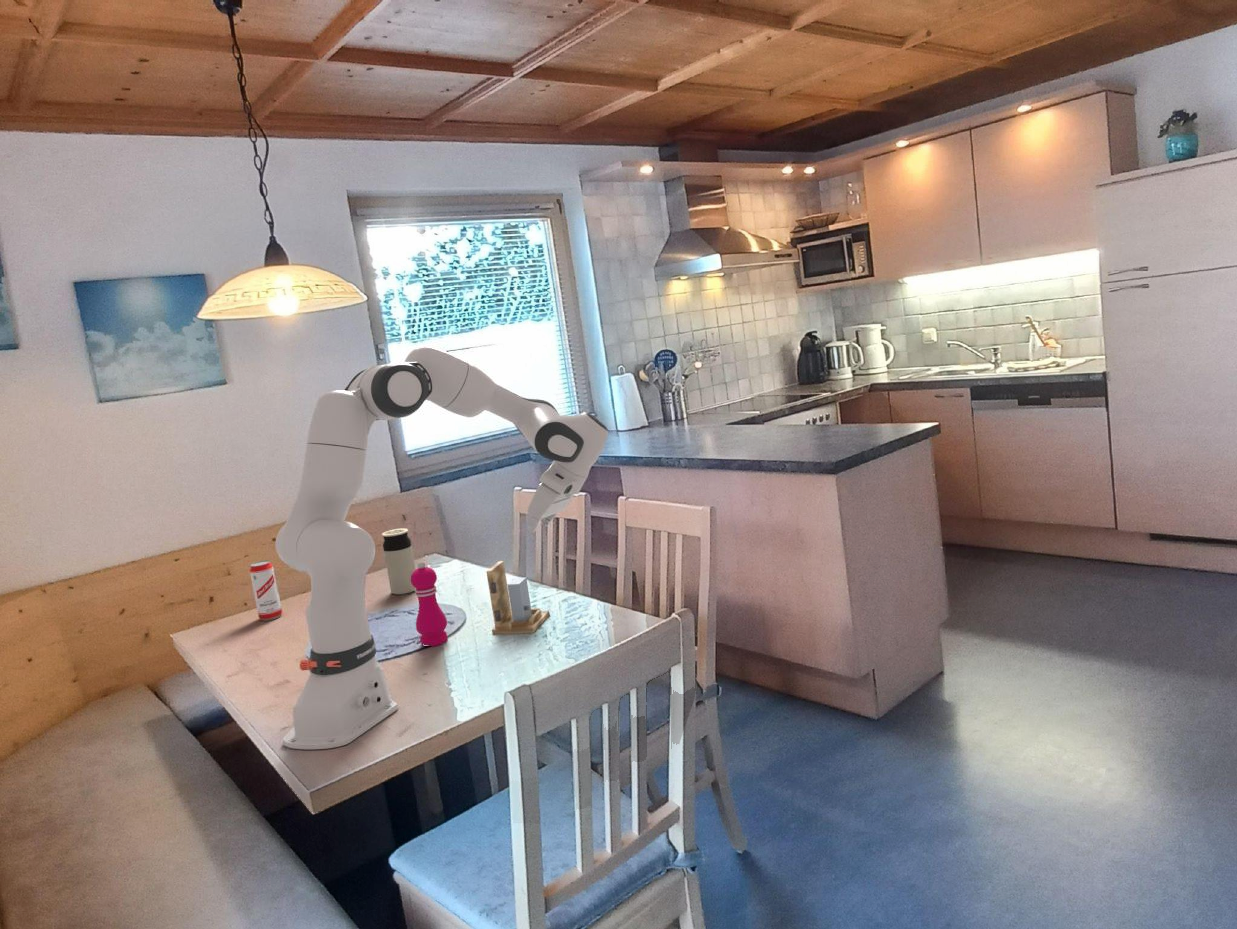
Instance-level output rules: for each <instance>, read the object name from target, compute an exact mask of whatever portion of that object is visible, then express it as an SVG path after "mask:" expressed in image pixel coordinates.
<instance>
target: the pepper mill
mask: <svg viewBox="0 0 1237 929" xmlns="http://www.w3.org/2000/svg"><path fill="white" fill-rule="evenodd" d="M436 573H437V572H436V571H435V569H433V568H432V567H429V566H426V562H425V561H422V560H421V561H418V562H417V568H416V570H415V571H414V572H413V573H412V575H411V584H412V585H413V586H414V587H415V588H416V589H415V591H414V592H415V597H417V601H418V611H417V616H416V619H415V620H416V621H415V627H416V628H415V629H416V631H417V633H418V634H419V635H421V636H420V637H419V641H420V645H421V644H424V645H429V646H433V647H438V646H440V644H441V645H443V644H444V643H446V642H447V641H448V633H447V631H445V630H446V628H447V627H448V621H447V617H446V615H445V613H444V611H443V610H442V608H441V607H440V605H439V602H438V601H437V598H436V597H437V595H436V593H437V592H438V590H437V585H435V584H436V582H437V579H438V577H437V574H436Z"/></svg>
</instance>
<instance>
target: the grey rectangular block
mask: <svg viewBox="0 0 1237 929" xmlns="http://www.w3.org/2000/svg"><path fill="white" fill-rule="evenodd" d="M507 587H508V593H509V600H510V607H511V612H512V618H513V621H528V620H529V619H530V618H531V617H532V612H531V609H532V606H531V600H530V593H529V586H528V579H527V577H514V578H513V579H512V580H511V581H510V582H508V583H507Z"/></svg>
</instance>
